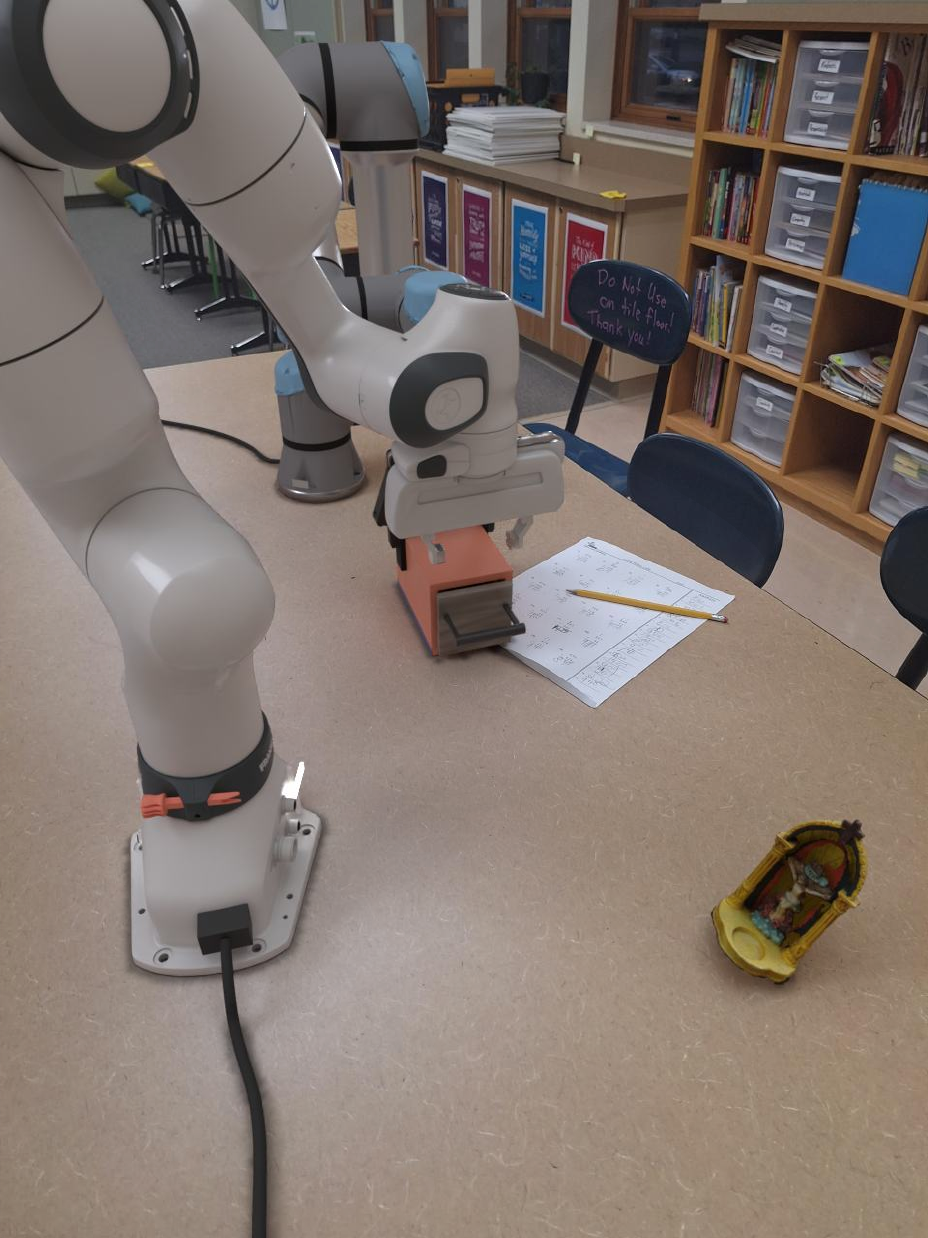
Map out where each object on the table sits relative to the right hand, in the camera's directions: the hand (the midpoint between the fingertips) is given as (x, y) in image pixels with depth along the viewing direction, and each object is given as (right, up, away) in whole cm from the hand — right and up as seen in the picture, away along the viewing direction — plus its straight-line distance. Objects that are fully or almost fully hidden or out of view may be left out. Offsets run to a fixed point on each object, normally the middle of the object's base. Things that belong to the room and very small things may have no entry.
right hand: (442, 558), depth 119 cm
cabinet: (+1, -7, 0) cm, 7 cm away
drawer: (+3, -9, -4) cm, 11 cm away
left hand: (+4, -1, -20) cm, 20 cm away
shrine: (+30, -38, -42) cm, 64 cm away
